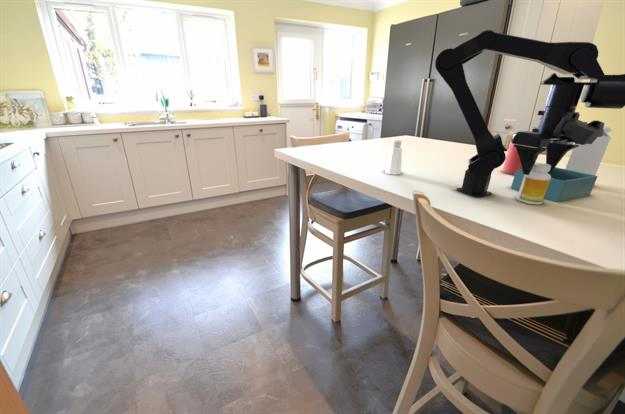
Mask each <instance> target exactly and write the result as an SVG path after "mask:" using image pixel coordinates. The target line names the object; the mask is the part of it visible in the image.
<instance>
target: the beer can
mask: <svg viewBox="0 0 625 414" xmlns="http://www.w3.org/2000/svg"><path fill="white" fill-rule="evenodd" d="M511 142H512V140H511V141H510V143H509V145H508V147H507V148H508V149H507V151H506V159H505V161H504V163H503V167H502V172H503V173H504V174H507V175H511V176H515V172H516V170H520V169H522V166H521V162H520V158H519V155H518V152H517V149H516V147H514V144H513V143H511Z"/></svg>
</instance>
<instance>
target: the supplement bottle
mask: <svg viewBox="0 0 625 414" xmlns="http://www.w3.org/2000/svg"><path fill="white" fill-rule="evenodd" d="M550 168H551V165H549V164H546V163H543V162H535V164H534V166H533V168H532V170H531V172H530V174H529V175H525V174H524V177H523V180H522V183H521V187H520V190H518V194H517V197H516V199H517V200H518V201H519V202H521V203H525V204H529V205H541V204H543V201H544V199H545V198H544V196H545V194H546V191H547V188H548V185H549V182H550V179H551V175H550V174H548V172H549V171H550Z"/></svg>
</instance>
